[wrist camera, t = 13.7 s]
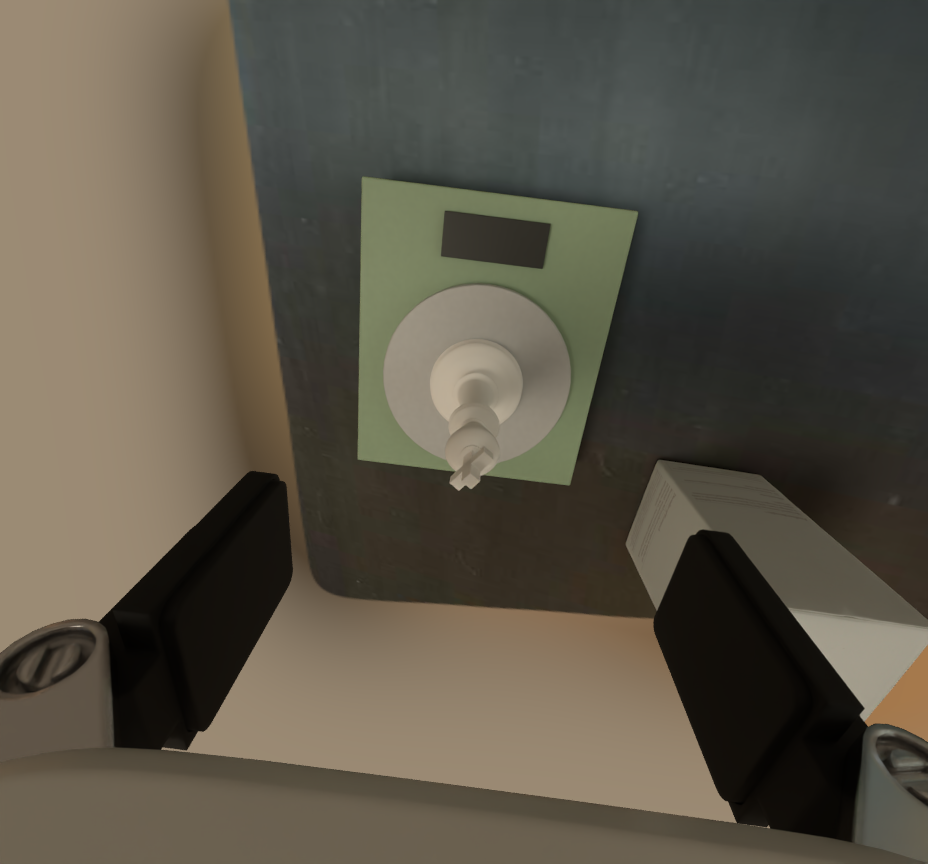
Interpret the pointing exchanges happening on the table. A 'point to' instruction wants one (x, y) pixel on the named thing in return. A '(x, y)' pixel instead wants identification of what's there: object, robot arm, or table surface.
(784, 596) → the white packaging box
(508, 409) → the chess piece
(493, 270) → the scale
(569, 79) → the table surface
